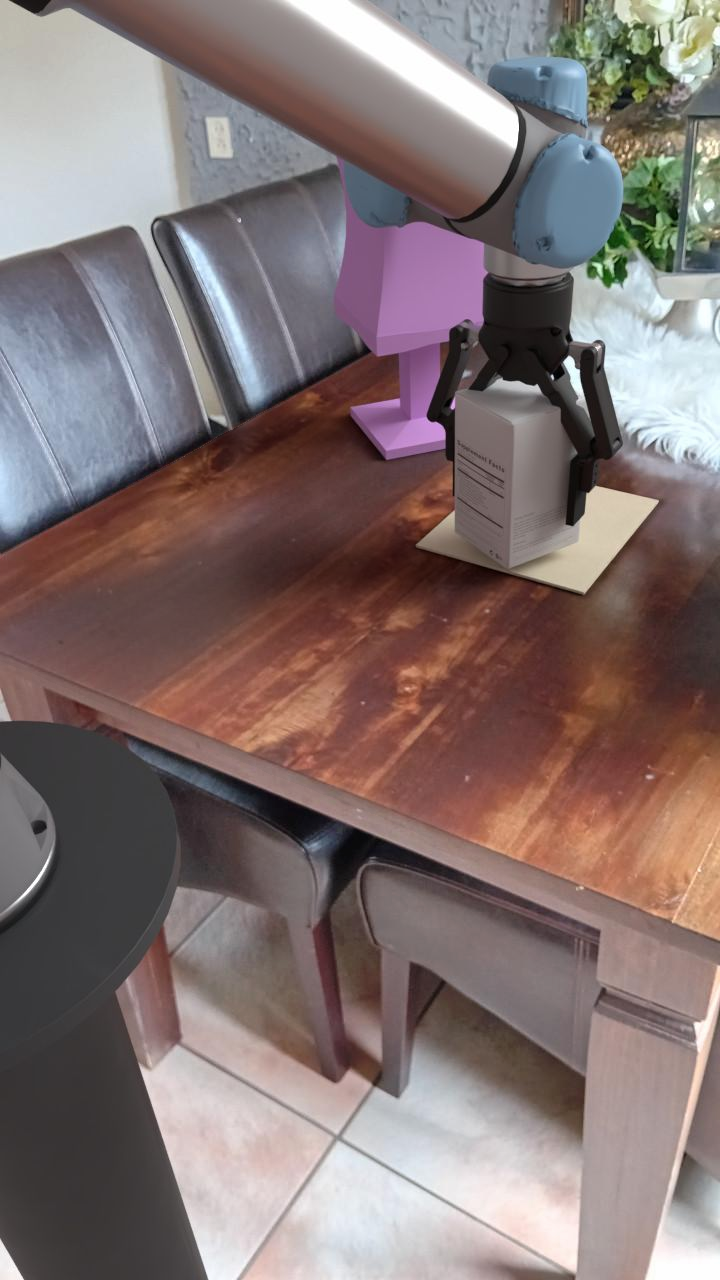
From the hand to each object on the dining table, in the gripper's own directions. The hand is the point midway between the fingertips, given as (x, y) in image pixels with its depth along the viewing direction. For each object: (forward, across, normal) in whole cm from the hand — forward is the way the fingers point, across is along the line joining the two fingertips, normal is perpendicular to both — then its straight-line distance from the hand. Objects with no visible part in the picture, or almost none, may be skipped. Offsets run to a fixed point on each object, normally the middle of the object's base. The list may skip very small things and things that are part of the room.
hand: (517, 505), depth 96 cm
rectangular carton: (+4, 0, 0) cm, 4 cm away
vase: (+5, +23, -21) cm, 32 cm away
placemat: (+5, 0, -6) cm, 8 cm away
